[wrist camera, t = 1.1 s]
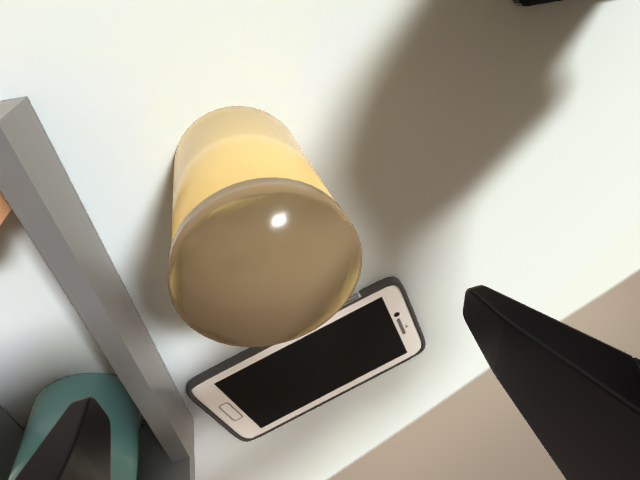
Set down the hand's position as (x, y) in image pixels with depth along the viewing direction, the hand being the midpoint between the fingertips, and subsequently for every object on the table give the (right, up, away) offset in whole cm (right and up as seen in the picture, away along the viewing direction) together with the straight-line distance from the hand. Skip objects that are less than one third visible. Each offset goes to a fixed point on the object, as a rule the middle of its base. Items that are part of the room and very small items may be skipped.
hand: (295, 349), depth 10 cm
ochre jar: (-3, +6, +9) cm, 11 cm away
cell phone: (0, -5, +18) cm, 18 cm away
